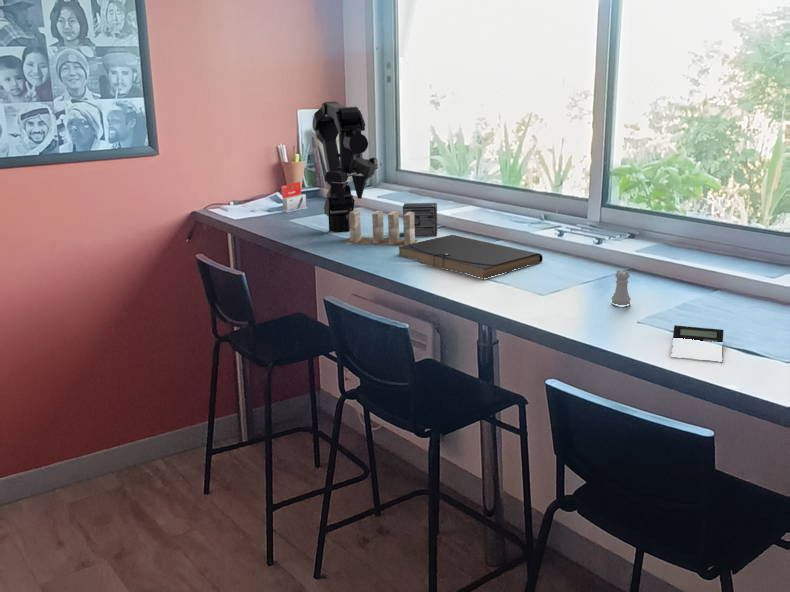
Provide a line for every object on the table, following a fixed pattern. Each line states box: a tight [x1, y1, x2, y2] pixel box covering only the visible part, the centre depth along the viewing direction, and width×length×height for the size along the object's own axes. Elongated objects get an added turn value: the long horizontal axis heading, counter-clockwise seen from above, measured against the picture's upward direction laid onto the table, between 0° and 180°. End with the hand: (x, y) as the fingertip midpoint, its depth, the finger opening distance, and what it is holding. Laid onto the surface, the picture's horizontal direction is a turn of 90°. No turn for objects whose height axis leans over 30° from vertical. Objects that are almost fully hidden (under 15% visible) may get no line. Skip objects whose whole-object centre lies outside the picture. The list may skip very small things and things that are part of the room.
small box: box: [402, 202, 438, 238], centre depth 255 cm, size 11×6×10 cm, turn 84°
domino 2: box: [371, 210, 385, 243], centre depth 248 cm, size 2×5×9 cm, turn 162°
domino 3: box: [387, 210, 400, 244], centre depth 247 cm, size 2×5×9 cm, turn 162°
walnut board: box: [342, 236, 419, 247], centre depth 249 cm, size 22×8×1 cm, turn 72°
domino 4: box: [403, 212, 416, 245], centre depth 245 cm, size 2×5×9 cm, turn 162°
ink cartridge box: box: [280, 181, 307, 213], centre depth 302 cm, size 2×11×10 cm, turn 147°
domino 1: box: [349, 209, 362, 242], centre depth 250 cm, size 2×5×9 cm, turn 162°
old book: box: [398, 234, 543, 280], centre depth 228 cm, size 33×4×24 cm
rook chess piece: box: [611, 269, 632, 305], centre depth 187 cm, size 4×4×8 cm
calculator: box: [672, 325, 724, 343], centre depth 160 cm, size 9×12×3 cm
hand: (351, 201), depth 248 cm, fingers open, 9 cm apart
